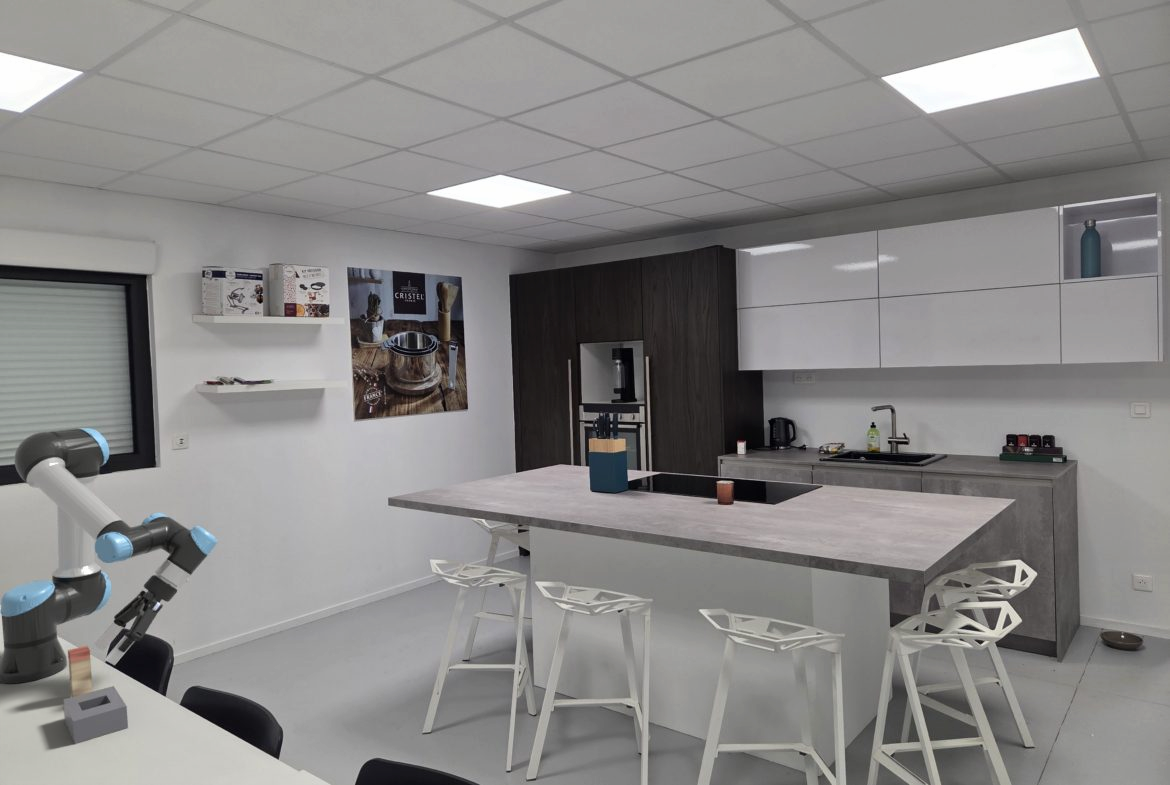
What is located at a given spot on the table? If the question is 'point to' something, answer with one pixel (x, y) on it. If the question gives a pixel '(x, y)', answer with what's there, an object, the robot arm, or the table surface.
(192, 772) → the table surface
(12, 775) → the table surface
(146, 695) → the table surface
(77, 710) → the socket block
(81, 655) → the plug peg
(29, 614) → the robot arm
